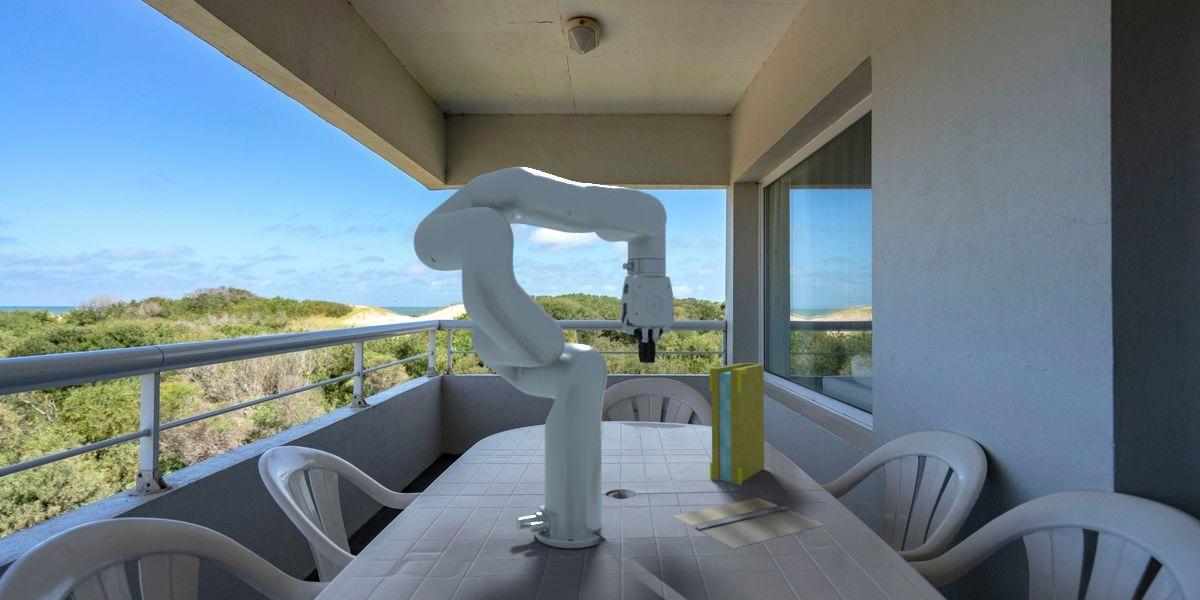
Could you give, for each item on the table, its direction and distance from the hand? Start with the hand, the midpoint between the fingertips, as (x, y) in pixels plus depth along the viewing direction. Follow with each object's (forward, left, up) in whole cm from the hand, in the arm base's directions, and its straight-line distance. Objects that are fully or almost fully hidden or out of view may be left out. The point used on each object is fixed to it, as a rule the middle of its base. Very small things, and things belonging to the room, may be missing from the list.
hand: (647, 362), depth 110 cm
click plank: (+7, -13, -27) cm, 31 cm away
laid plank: (+7, -23, -27) cm, 36 cm away
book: (+26, +2, -27) cm, 38 cm away
